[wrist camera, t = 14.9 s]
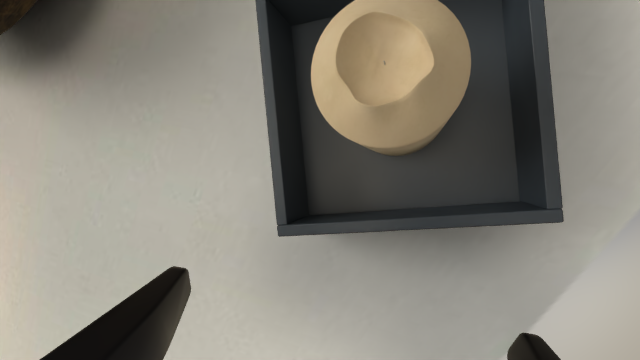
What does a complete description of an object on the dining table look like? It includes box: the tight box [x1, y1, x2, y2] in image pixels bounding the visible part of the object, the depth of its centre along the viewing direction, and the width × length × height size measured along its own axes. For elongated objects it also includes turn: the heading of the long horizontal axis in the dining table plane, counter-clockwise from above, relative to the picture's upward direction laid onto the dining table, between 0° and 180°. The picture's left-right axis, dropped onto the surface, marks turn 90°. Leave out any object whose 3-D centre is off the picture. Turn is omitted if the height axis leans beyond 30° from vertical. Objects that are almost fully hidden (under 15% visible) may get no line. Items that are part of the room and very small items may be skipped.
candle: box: [311, 0, 471, 156], centre depth 15 cm, size 6×6×10 cm
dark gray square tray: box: [256, 0, 564, 237], centre depth 19 cm, size 13×13×4 cm
